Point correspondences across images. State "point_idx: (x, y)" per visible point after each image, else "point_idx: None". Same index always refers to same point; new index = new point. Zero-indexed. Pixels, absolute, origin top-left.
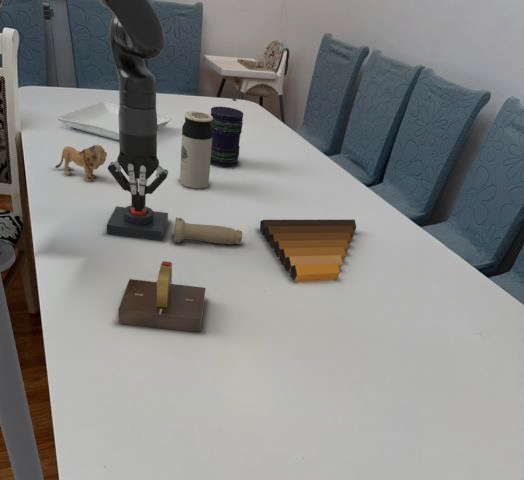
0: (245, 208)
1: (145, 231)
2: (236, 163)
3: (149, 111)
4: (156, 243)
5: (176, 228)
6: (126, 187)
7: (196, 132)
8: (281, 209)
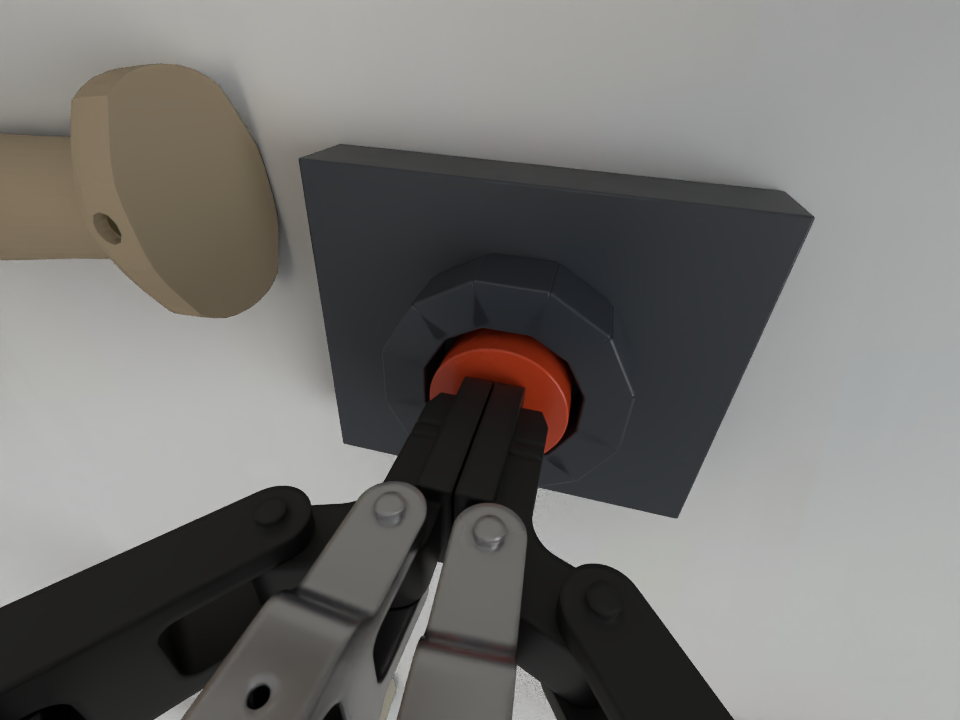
0: (120, 514)
1: (440, 169)
2: None
3: None
4: (368, 88)
5: (106, 94)
6: (582, 607)
7: None
8: (19, 505)
